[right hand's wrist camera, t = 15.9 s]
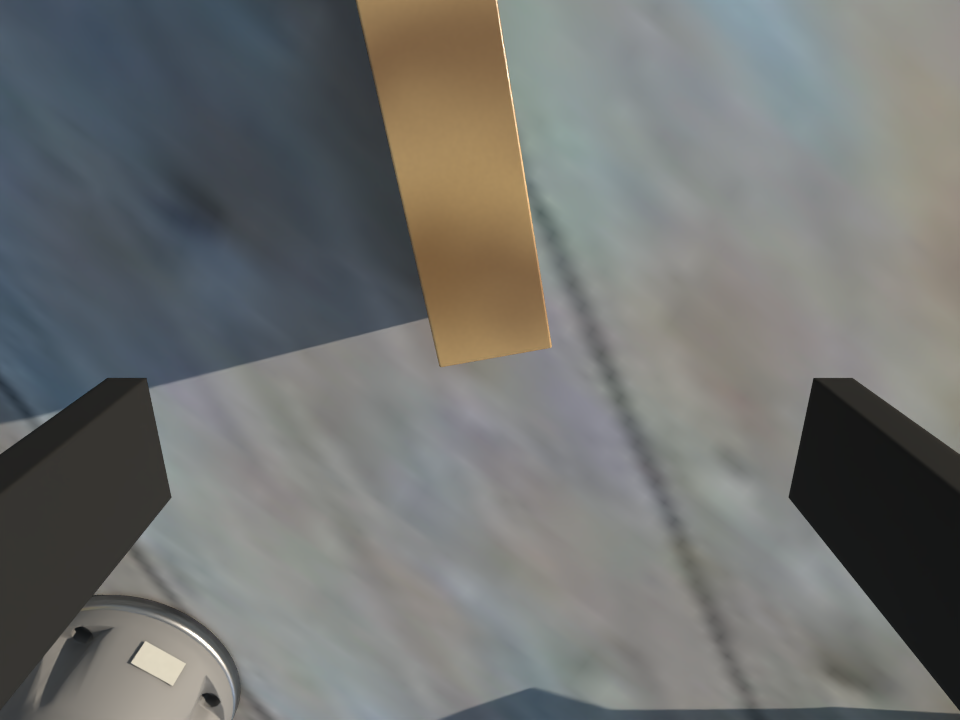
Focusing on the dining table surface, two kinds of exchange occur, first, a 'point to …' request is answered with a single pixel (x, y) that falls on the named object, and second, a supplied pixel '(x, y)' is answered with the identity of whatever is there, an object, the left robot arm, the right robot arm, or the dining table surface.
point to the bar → (459, 172)
